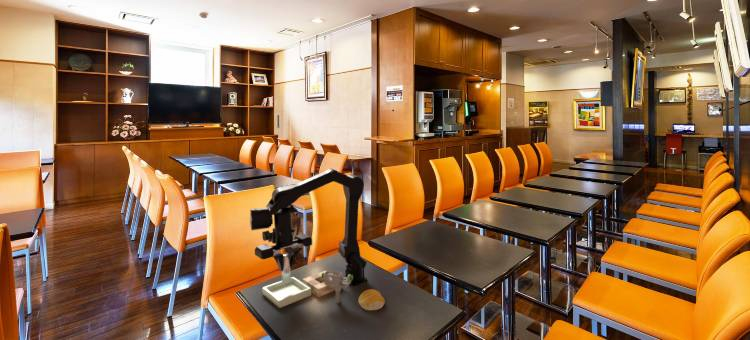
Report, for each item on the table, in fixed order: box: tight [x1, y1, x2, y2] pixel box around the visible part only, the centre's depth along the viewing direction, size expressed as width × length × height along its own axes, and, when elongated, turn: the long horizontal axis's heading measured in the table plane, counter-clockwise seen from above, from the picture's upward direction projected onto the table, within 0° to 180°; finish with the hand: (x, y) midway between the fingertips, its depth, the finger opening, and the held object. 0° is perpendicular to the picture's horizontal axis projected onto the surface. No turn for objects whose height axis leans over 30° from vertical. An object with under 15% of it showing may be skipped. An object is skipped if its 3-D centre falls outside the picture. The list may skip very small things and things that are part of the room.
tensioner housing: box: [302, 270, 343, 298], centre depth 128 cm, size 10×10×3 cm
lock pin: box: [280, 253, 292, 283], centre depth 122 cm, size 3×3×9 cm
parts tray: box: [262, 276, 312, 309], centre depth 123 cm, size 12×12×2 cm
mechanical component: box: [322, 270, 353, 304], centre depth 117 cm, size 3×10×10 cm, turn 78°
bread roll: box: [357, 289, 386, 311], centre depth 117 cm, size 8×9×4 cm
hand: (285, 269), depth 122 cm, fingers closed on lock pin, 3 cm apart
